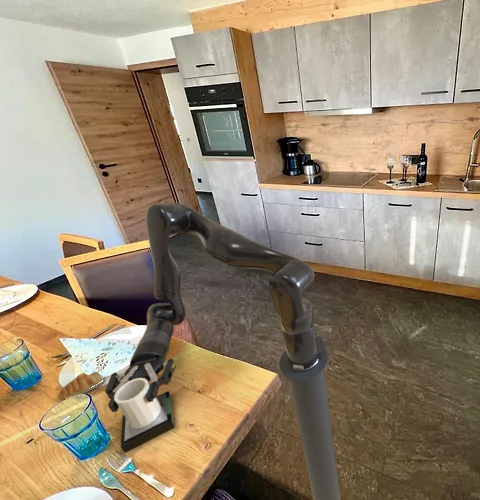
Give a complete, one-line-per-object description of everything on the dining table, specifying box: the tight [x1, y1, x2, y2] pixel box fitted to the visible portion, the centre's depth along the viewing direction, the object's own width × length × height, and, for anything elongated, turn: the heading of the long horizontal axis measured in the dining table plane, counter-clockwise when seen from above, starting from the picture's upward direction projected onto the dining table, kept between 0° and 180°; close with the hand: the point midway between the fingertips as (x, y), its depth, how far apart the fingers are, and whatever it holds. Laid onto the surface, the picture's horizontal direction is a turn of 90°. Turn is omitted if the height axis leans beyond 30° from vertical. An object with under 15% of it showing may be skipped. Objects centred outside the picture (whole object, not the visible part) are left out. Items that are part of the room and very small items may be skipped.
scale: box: [120, 390, 176, 454], centre depth 70 cm, size 10×10×3 cm
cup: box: [114, 378, 161, 428], centre depth 67 cm, size 6×6×9 cm
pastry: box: [58, 372, 105, 400], centre depth 80 cm, size 9×7×4 cm
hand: (131, 404), depth 64 cm, fingers closed on cup, 6 cm apart
